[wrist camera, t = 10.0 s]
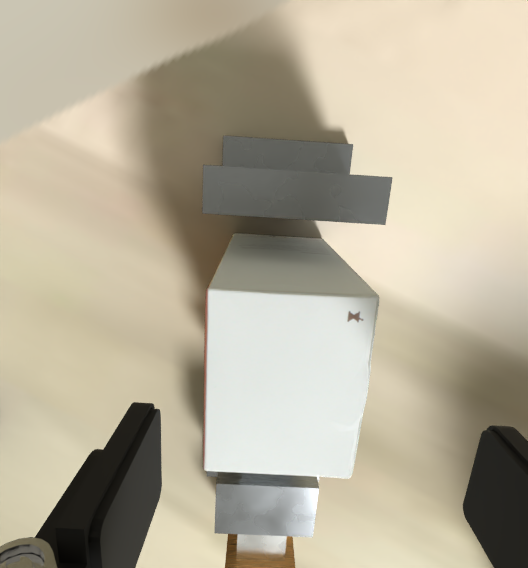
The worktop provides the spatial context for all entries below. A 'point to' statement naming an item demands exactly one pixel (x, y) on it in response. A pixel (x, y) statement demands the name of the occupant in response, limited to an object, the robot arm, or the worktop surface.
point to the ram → (259, 551)
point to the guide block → (265, 504)
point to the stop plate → (293, 182)
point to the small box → (285, 358)
